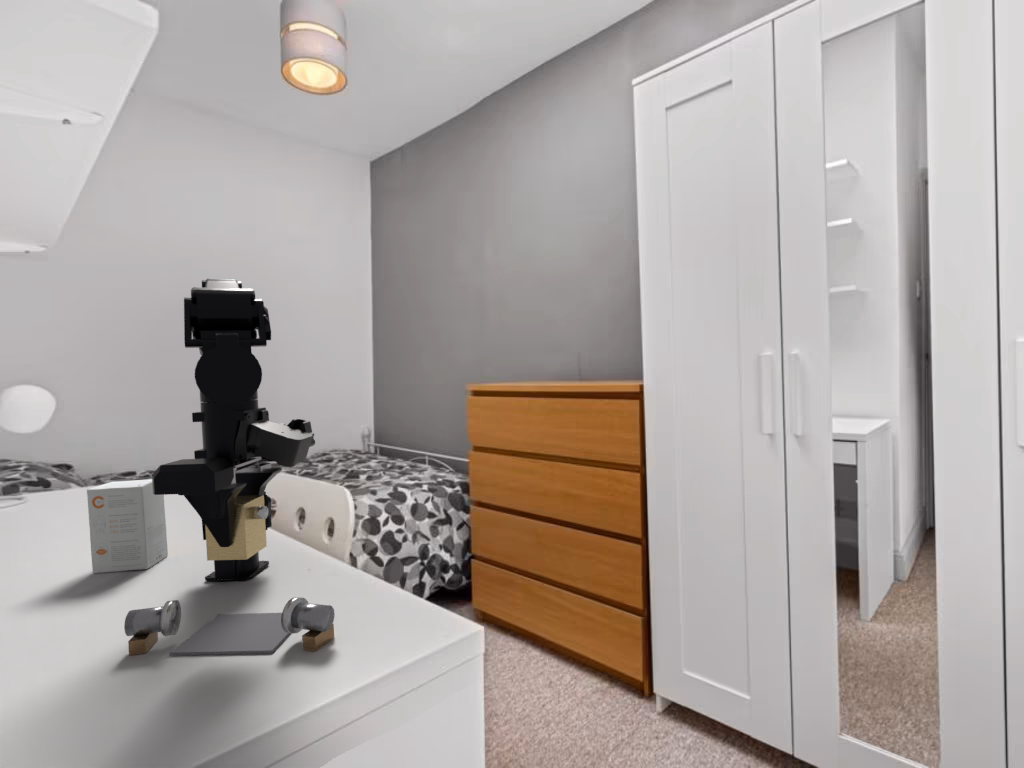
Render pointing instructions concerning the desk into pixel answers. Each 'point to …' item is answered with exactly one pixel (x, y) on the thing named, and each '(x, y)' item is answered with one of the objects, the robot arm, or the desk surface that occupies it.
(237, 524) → the coupler
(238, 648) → the mat
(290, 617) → the shaft
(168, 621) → the shaft
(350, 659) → the desk surface
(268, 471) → the robot arm
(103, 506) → the small box
